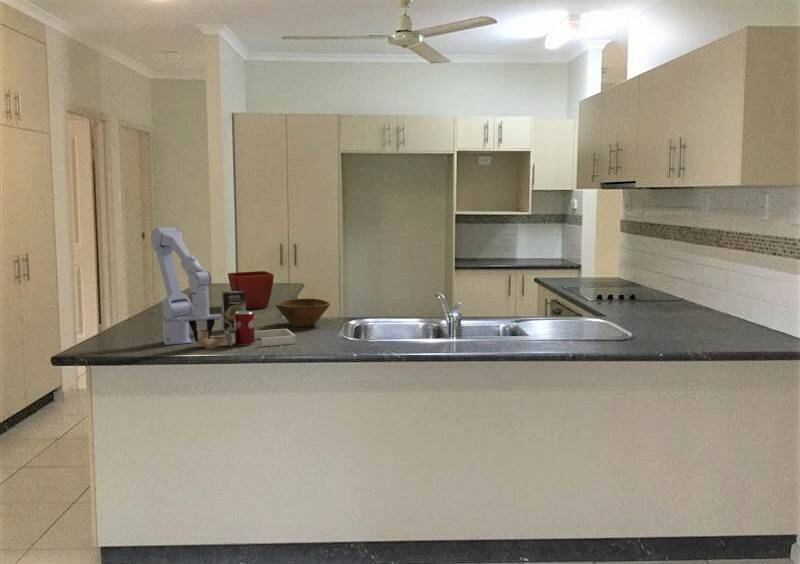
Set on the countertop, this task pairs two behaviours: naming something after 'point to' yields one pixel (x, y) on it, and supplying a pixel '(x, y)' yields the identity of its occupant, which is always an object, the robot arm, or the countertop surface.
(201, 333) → the tan boxy piece
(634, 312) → the countertop surface
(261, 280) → the plant pot
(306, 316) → the bowl
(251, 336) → the soda can
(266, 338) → the white tray
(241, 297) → the coffee box
